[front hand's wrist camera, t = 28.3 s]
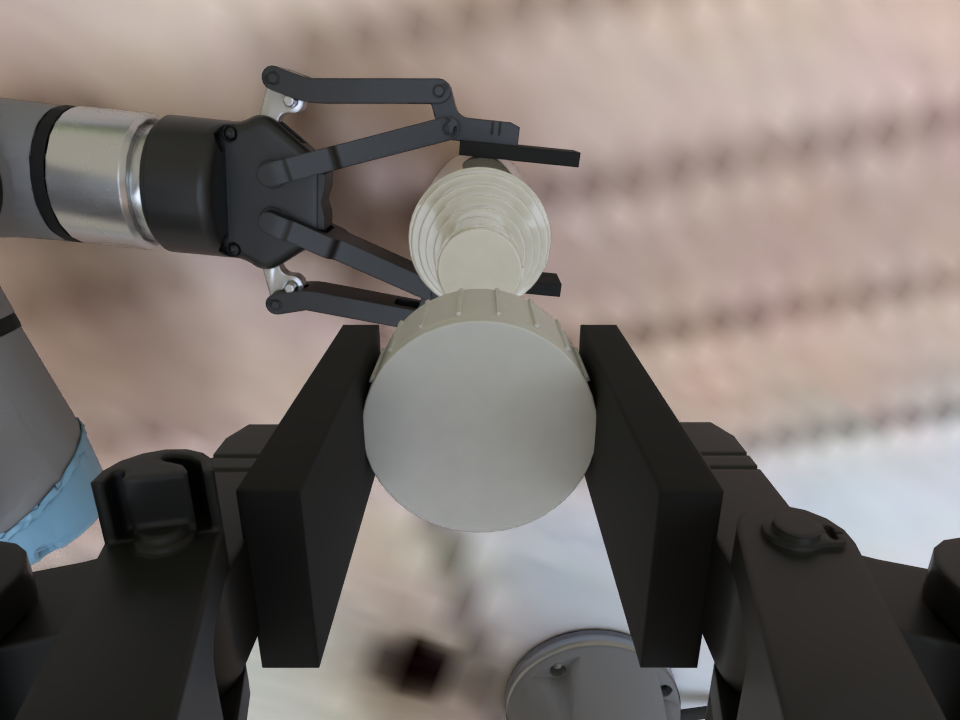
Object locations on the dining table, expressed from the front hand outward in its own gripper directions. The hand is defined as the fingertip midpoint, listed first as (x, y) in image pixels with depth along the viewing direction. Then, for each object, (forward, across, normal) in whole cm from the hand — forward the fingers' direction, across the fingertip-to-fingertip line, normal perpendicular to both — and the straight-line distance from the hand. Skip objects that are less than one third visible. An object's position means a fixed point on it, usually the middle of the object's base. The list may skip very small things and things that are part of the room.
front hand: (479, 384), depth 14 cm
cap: (-2, 0, 0) cm, 2 cm away
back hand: (+25, -5, 0) cm, 26 cm away
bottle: (+31, 0, 0) cm, 31 cm away
